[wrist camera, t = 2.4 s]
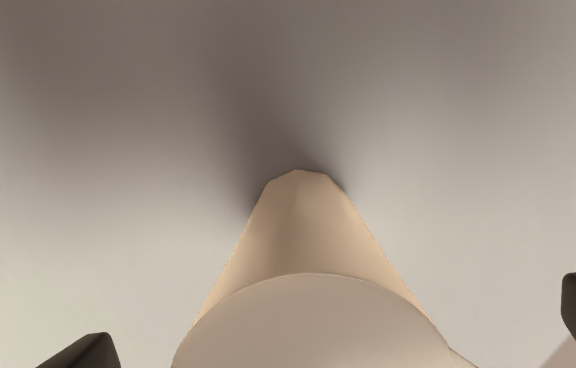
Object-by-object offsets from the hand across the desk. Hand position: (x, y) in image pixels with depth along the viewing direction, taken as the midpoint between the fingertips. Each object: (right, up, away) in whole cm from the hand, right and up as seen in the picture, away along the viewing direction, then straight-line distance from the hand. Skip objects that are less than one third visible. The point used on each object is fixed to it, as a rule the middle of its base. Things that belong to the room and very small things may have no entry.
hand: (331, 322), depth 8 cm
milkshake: (0, +2, +6) cm, 6 cm away
